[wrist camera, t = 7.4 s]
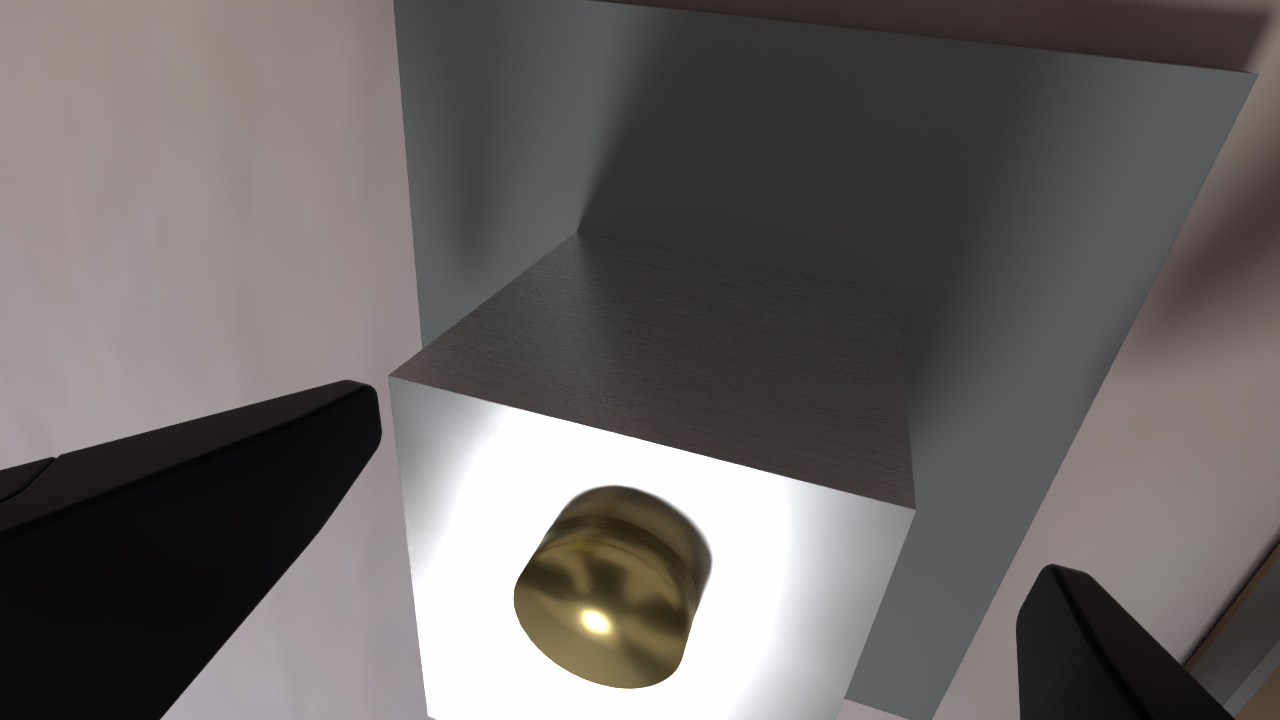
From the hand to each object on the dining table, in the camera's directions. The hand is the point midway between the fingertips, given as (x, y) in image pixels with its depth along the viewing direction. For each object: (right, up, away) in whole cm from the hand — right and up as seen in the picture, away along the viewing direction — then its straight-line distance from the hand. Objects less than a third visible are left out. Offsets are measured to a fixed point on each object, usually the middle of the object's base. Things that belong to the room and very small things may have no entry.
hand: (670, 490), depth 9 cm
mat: (+1, +1, +2) cm, 3 cm away
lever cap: (+1, +1, +2) cm, 2 cm away
